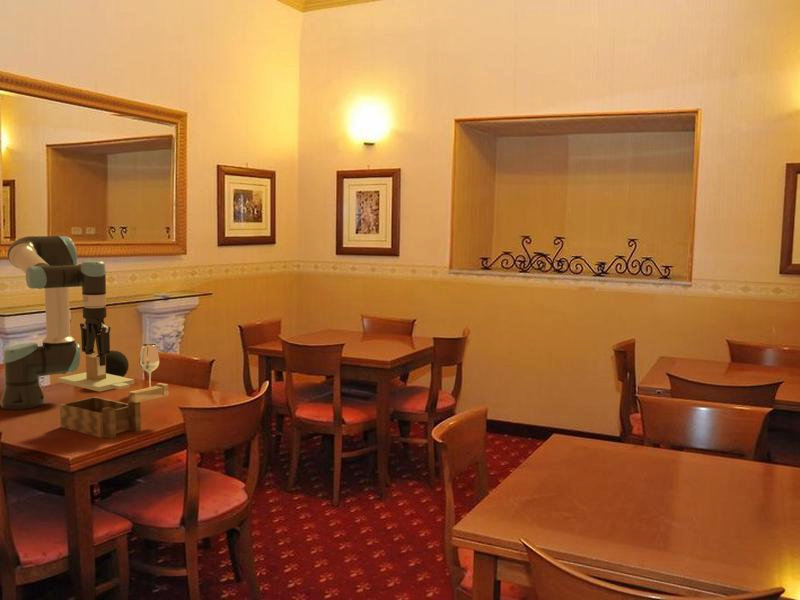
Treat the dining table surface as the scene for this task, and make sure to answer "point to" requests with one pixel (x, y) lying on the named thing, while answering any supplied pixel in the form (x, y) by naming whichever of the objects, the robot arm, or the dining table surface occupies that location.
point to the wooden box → (100, 416)
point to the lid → (96, 378)
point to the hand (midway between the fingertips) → (96, 373)
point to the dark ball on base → (116, 363)
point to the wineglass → (149, 359)
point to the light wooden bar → (148, 393)
